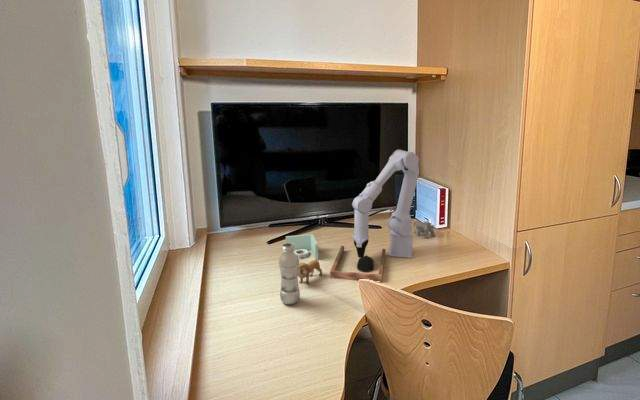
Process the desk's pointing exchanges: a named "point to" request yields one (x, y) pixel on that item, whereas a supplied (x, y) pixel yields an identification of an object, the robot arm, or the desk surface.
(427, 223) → the gray elephant figurine
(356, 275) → the u-shaped frame
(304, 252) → the l-shaped corner panel
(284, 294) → the plastic bottle
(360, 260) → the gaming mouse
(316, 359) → the desk surface
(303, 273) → the lion figurine
